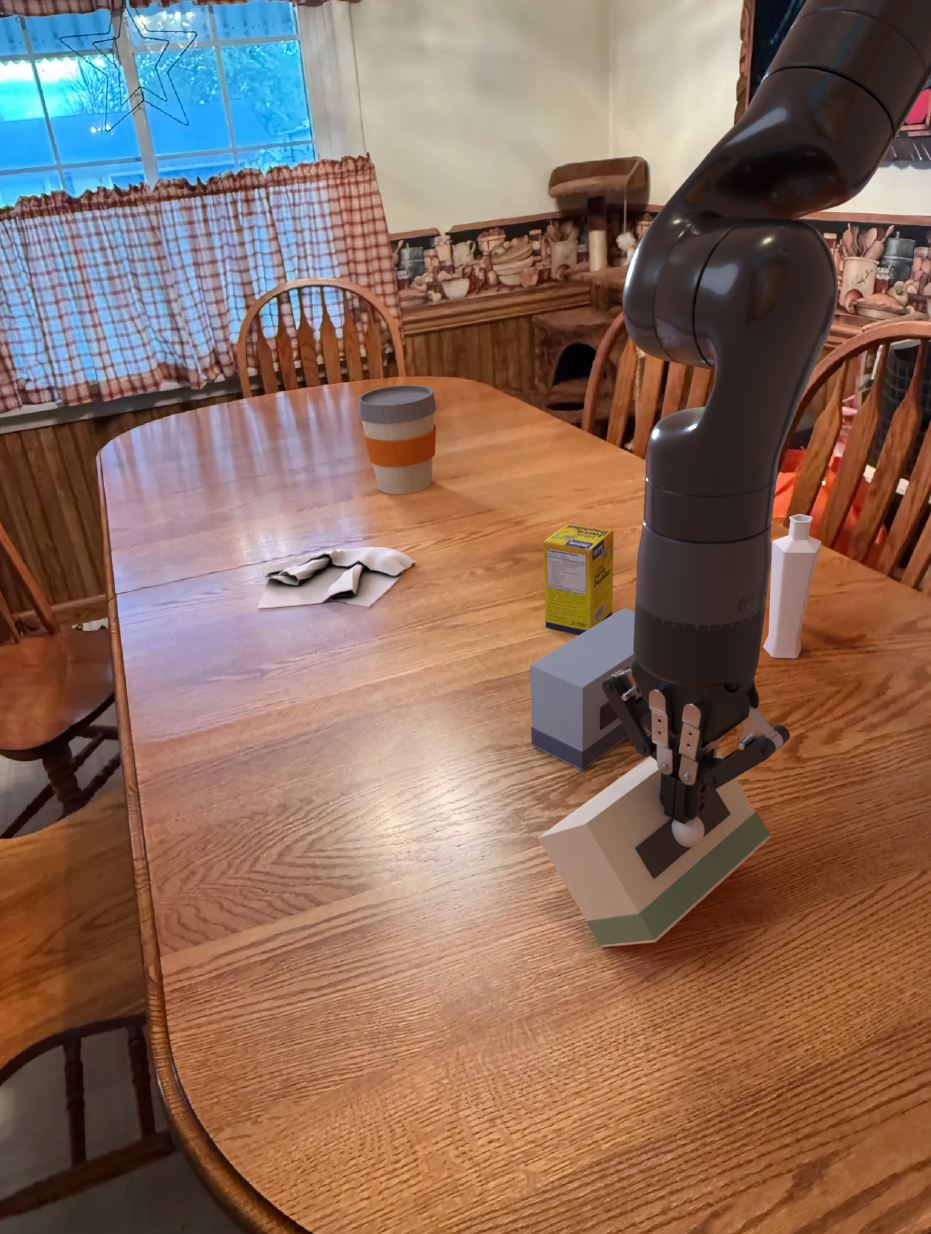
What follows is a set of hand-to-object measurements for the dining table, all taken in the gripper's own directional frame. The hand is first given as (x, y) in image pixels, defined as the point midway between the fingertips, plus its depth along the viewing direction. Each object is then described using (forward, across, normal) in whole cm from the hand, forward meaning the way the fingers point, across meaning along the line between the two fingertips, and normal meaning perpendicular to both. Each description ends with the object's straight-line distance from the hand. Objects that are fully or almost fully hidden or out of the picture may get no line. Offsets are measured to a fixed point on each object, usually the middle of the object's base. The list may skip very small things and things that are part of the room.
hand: (681, 814), depth 62 cm
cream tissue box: (+7, -1, 0) cm, 7 cm away
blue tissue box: (+9, +18, -15) cm, 25 cm away
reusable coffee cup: (+9, +86, -50) cm, 100 cm away
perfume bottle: (+9, +12, -38) cm, 41 cm away
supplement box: (+9, +33, -30) cm, 46 cm away
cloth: (+9, +67, -19) cm, 70 cm away
